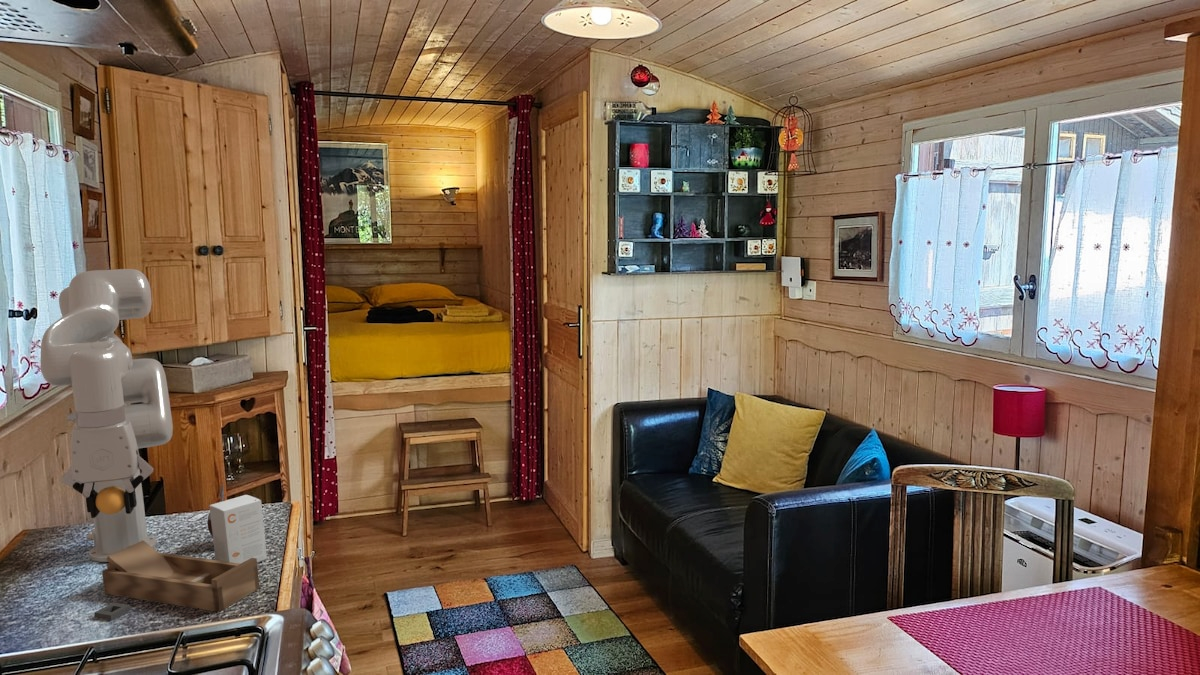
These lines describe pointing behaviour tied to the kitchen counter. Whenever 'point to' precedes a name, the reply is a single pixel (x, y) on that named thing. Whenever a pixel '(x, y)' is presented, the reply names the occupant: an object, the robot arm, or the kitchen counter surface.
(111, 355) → the robot arm
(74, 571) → the kitchen counter surface
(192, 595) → the brown long open tray
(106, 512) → the ball
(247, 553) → the small box
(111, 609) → the square washer
